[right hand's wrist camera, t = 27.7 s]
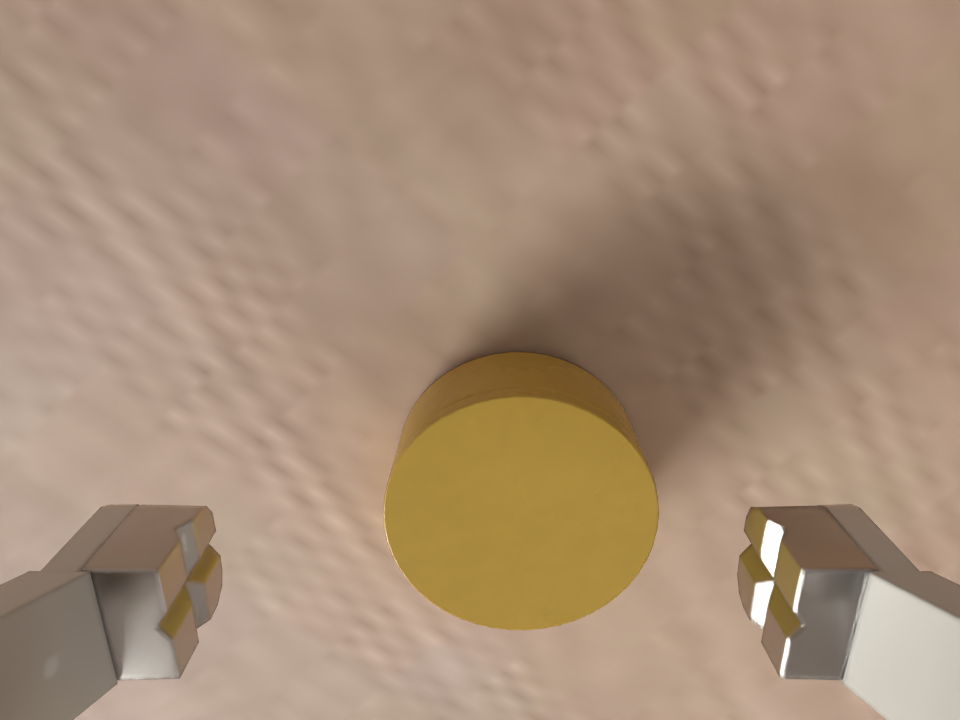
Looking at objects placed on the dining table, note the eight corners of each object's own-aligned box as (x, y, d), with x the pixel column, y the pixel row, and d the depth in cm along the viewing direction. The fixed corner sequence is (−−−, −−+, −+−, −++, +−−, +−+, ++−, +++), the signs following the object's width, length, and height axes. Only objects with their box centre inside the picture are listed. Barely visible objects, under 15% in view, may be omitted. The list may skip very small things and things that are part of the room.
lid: (683, 473, 14) (714, 534, 12) (503, 596, 16) (505, 671, 13) (532, 301, 13) (538, 337, 11) (349, 450, 14) (326, 508, 12)
